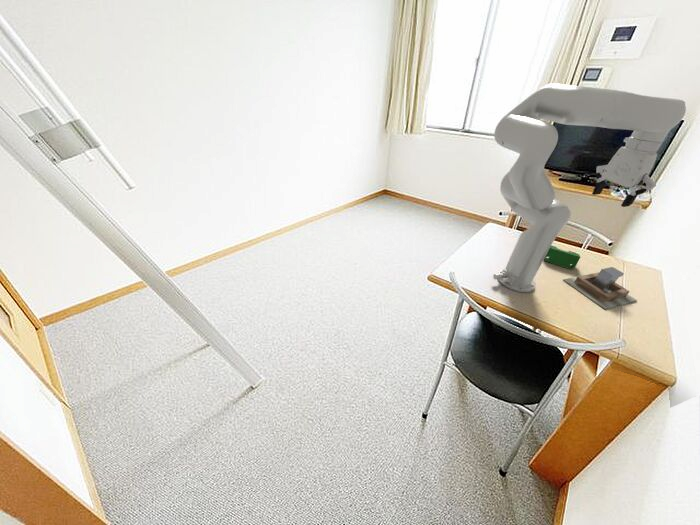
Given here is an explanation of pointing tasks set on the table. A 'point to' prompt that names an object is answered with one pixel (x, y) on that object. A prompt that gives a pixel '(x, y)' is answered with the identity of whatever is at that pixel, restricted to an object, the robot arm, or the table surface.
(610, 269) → the grey angular block
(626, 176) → the robot arm
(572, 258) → the green rectangular block
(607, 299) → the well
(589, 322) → the table surface
